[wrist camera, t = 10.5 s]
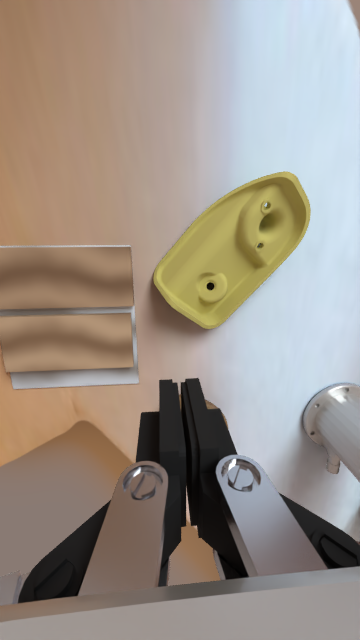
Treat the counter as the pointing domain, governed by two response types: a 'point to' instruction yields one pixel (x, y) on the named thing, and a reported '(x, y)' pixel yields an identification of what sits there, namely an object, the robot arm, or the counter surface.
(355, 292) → the counter surface
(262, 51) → the counter surface
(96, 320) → the plank
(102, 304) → the laid floor
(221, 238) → the plastic component
